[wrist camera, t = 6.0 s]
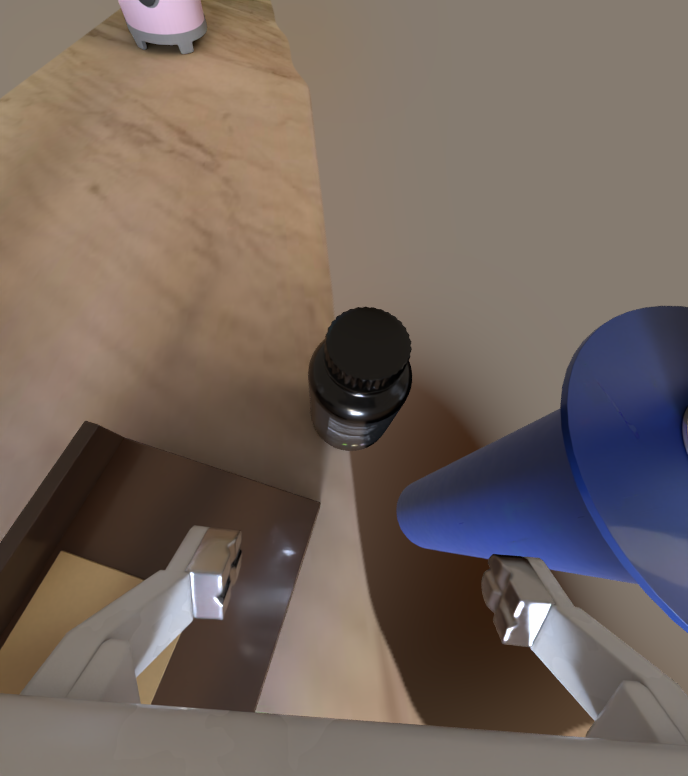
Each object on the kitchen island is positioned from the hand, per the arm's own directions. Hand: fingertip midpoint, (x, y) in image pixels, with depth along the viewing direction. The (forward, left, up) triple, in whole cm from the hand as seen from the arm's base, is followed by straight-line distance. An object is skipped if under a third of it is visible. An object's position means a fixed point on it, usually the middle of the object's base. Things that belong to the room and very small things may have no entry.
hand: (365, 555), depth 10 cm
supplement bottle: (+2, -10, -15) cm, 18 cm away
